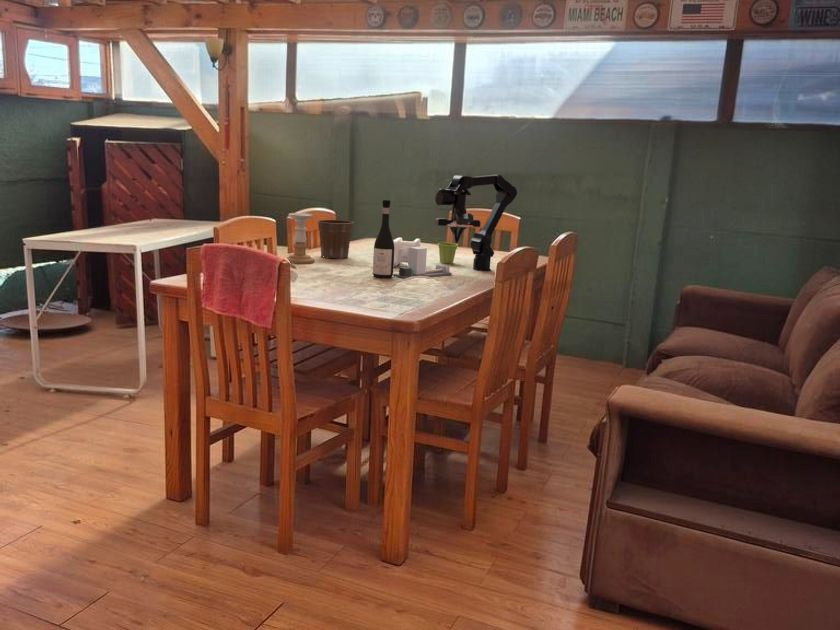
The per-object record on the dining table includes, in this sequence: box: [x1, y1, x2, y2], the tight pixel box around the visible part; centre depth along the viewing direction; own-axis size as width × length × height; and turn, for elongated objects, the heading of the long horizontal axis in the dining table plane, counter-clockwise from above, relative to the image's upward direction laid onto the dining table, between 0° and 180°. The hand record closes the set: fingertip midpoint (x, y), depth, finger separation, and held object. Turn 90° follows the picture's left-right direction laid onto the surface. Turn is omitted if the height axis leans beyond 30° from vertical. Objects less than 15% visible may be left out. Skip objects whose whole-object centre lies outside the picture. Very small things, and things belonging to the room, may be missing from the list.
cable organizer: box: [393, 237, 422, 267], centre depth 313 cm, size 15×11×12 cm
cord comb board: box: [392, 264, 453, 280], centre depth 292 cm, size 25×8×4 cm, turn 133°
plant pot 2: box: [437, 242, 459, 265], centre depth 329 cm, size 9×9×9 cm
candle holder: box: [285, 212, 315, 264], centre depth 306 cm, size 12×12×20 cm
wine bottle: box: [372, 199, 395, 279], centre depth 281 cm, size 8×8×30 cm
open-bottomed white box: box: [407, 246, 428, 275], centre depth 289 cm, size 5×5×10 cm
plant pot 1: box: [316, 219, 355, 259], centre depth 325 cm, size 16×16×16 cm
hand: (456, 242), depth 307 cm, fingers closed
